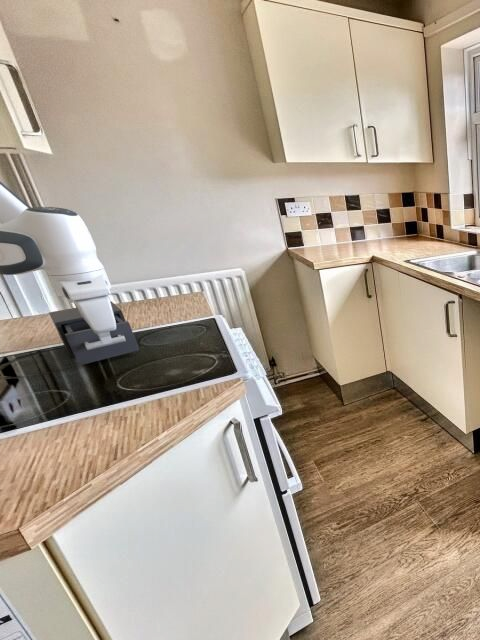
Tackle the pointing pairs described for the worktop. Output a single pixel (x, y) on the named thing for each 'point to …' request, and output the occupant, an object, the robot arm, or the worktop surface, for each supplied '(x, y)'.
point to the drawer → (90, 345)
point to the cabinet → (74, 316)
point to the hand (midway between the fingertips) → (106, 342)
